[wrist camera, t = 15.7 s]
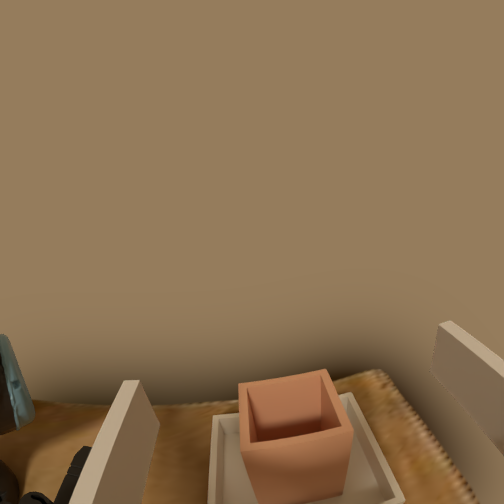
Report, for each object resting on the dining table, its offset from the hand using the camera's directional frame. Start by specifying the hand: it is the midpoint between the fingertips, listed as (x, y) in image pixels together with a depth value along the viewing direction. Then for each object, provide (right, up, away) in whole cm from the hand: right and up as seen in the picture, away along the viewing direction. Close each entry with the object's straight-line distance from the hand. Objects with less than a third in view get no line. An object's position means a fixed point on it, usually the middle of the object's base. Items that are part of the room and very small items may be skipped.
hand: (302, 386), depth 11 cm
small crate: (+3, -21, +15) cm, 26 cm away
